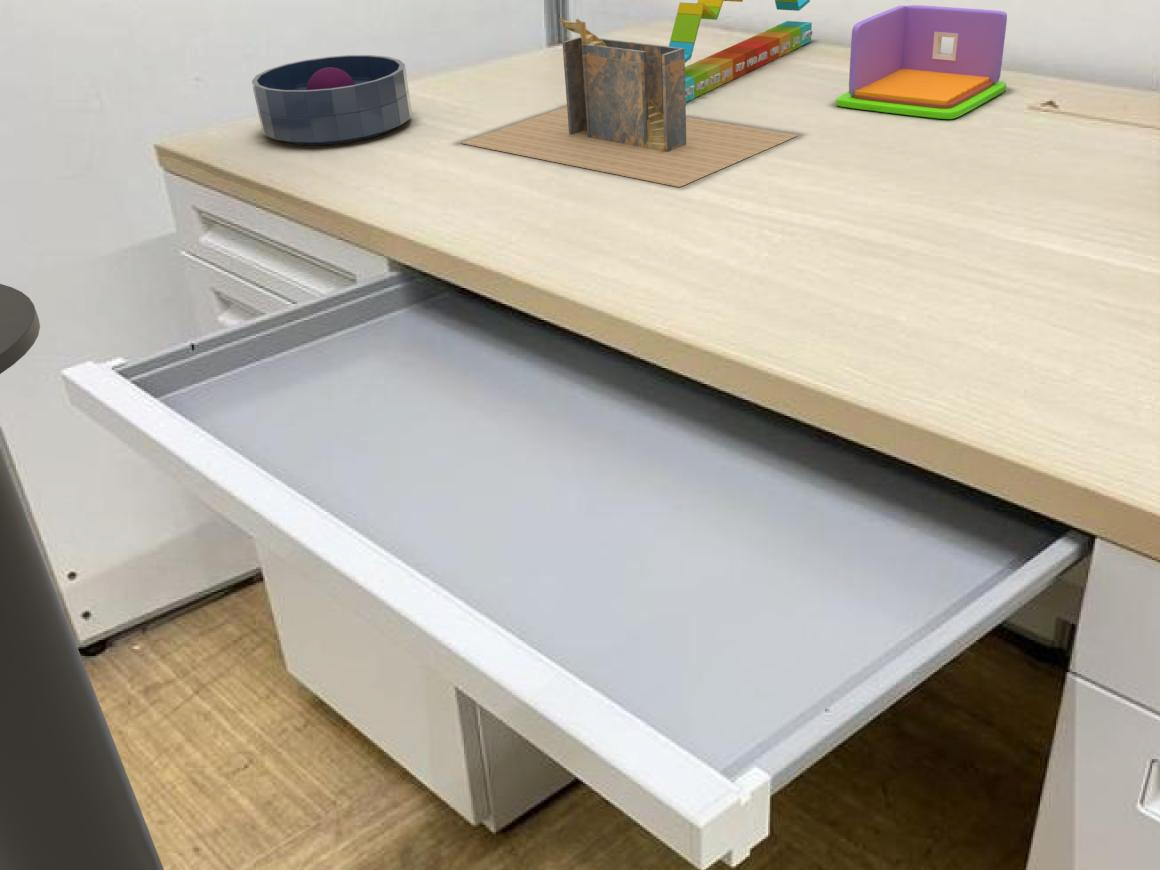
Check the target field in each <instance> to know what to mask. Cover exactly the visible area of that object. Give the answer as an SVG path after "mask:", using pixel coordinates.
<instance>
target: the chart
mask: <svg viewBox="0 0 1160 870" xmlns="http://www.w3.org/2000/svg"><path fill="white" fill-rule="evenodd" d="M724 2H734V3H735V2H737V3H738V2H739V3H743V2H744V0H697V3H696V2H695V3H694V2H679V4H678V8H677V11H676V16H675V20H674V24H673V27H672V32H671V35H670V38H669V39H670V40H669V44H668V47H677V48H685V64H686V63H687V62H688V61H690V60H691V59H692V56H693V52H694V49H695V45H696V40H697V36H698V32H699V28H700V24H701V21H702V20H715V21H717V20H718V18H719V16H720V14H721V13H720V12H721V10H722V7H723V5H724ZM810 2H811V0H774V3H775V7H776V10H778V11H795V12H797V11H798V12H800V11H801V10H803V8H804V7H805V6H807V5H808V4H809V3H810ZM812 27H813V22H811V21H795V20H786V21H784V22H782V23H779V24H777V25H775V26H773V27H771V28H768V29H766V30H764V31H763V32H760V33H758V34H756V35H753V36H752V37H749V38H747V39H745V40H742V41H740V42H738V43H736V44H733V45H731V46H729V47H727V48H724V49H722V50H720V51H717V52H715V53H713V54H710V55H709V56H707V57H704V58H702V59H699V60H697V61H695V62H693V63H691V64H688V65H685V97H686V103H687V102H690V101H691V100H693V99H695V98H698V97H701V96H702V95H704V94H706V93H708V92H710V91H712V90H714V89H716V88H718V87H720V86H722V85H725V84H727V83H729V82H731V81H733V80H735V79H737V78H739V77H741V76H743V75H745V74H747V73H749V72H751V71H754V70H755V69H758V68H760V67H762V66H764V65H766V64H768V63H770V62H772V61H775V60H776V59H779V58H781V57H783V56H785V55H786V54H789V53H791V52H792V51H794V50H797V49H798V48H801V47H803V46H804V45H806V44H808V43H811V42H812V36H813V30H812Z"/></svg>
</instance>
